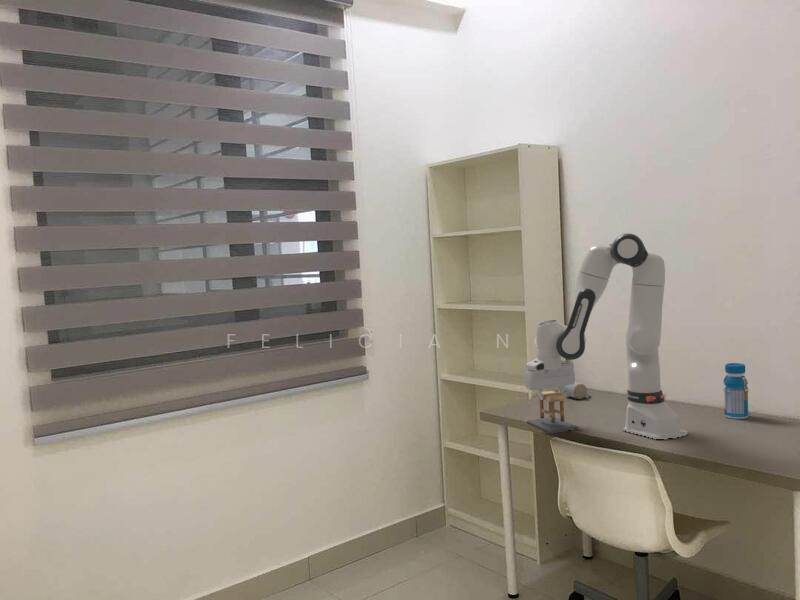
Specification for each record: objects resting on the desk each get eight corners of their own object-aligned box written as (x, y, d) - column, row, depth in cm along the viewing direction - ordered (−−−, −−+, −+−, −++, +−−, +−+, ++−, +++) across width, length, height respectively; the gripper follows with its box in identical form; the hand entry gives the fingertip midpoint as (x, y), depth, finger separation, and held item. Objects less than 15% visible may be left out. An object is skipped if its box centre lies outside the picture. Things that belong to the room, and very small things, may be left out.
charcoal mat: (579, 429, 240) (579, 427, 240) (551, 433, 236) (550, 431, 236) (553, 418, 257) (553, 416, 257) (526, 422, 253) (526, 420, 253)
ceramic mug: (574, 400, 284) (574, 383, 284) (563, 397, 292) (563, 380, 292) (594, 397, 288) (594, 381, 288) (583, 394, 296) (583, 378, 295)
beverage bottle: (731, 420, 239) (729, 367, 238) (719, 414, 248) (718, 363, 246) (753, 418, 239) (752, 365, 238) (741, 413, 248) (739, 361, 246)
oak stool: (538, 417, 250) (537, 392, 249) (552, 415, 252) (550, 390, 251) (552, 423, 241) (551, 397, 240) (566, 421, 242) (565, 395, 242)
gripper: (568, 358, 251) (570, 393, 252) (521, 364, 245) (523, 400, 246) (577, 360, 245) (579, 396, 246) (530, 367, 239) (532, 403, 240)
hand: (551, 398), depth 246 cm, fingers closed on oak stool, 6 cm apart
